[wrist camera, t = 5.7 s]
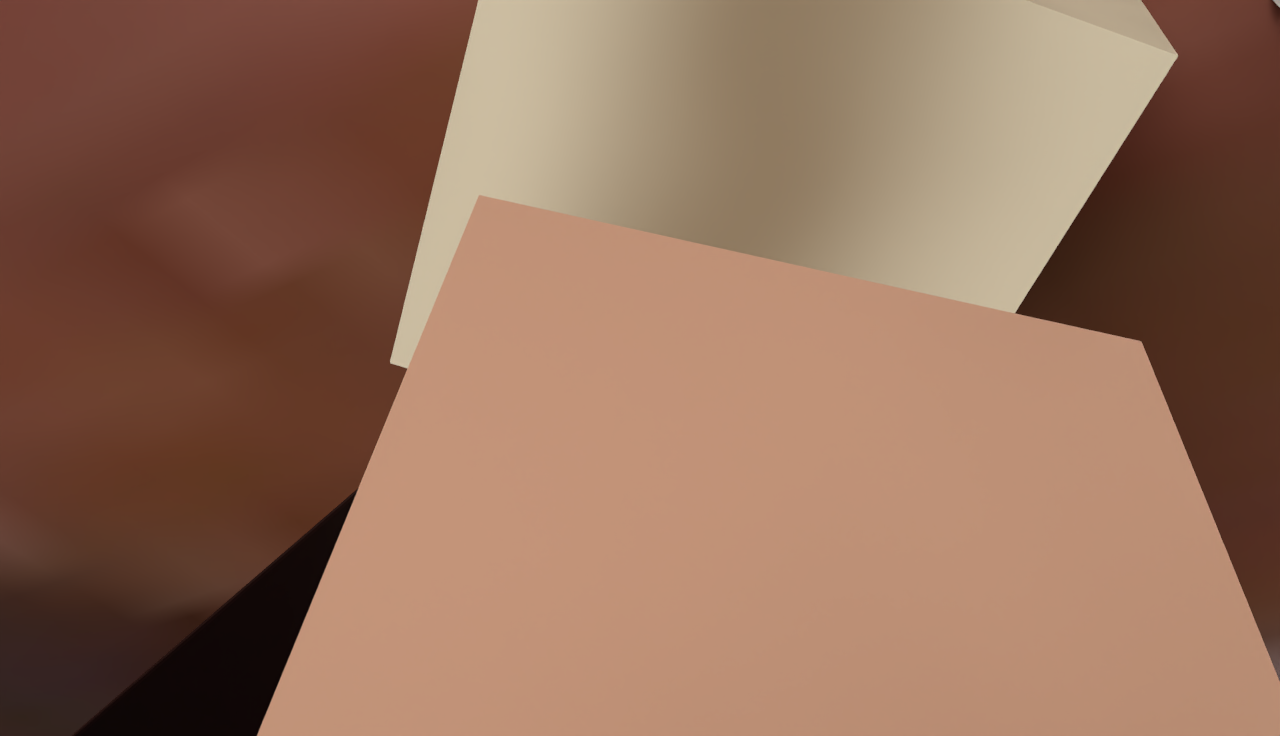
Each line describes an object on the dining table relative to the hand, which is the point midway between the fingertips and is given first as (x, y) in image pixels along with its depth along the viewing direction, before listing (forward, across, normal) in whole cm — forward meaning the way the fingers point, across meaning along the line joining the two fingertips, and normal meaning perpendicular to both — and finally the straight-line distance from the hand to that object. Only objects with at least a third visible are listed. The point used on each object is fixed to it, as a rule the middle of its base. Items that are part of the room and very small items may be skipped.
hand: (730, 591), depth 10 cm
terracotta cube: (+1, 0, 0) cm, 1 cm away
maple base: (+9, 0, 0) cm, 9 cm away
